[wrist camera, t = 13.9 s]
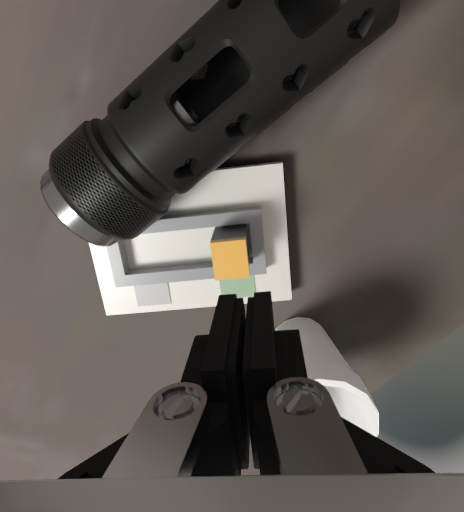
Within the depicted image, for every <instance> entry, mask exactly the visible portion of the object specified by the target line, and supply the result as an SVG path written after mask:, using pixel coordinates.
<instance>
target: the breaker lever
mask: <svg viewBox="0 0 464 512" xmlns="http://www.w3.org/2000/svg"><path fill="white" fill-rule="evenodd" d="M210 248H211V255H212V263H213V270H214V277H215V281H216V280H227V279H239V278H250V272H249V249H248V240H247V230H246V224H237V225H227V226H217V227H215V229H214V232H213V235H212V238H211V241H210Z"/></svg>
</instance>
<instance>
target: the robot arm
mask: <svg viewBox="0 0 464 512" xmlns="http://www.w3.org/2000/svg"><path fill="white" fill-rule="evenodd" d="M250 438H251V446H252V454H253V462H254V468H255V469H260V475H246V476H241V469H248V467H249V443H250ZM0 512H464V473H435V472H434V471H432V470H431V469H430V468H428V467H427V466H425V465H423V464H422V463H420V462H418V461H417V460H415V459H413V458H411V457H410V456H408V455H406V454H405V453H403V452H401V451H399V450H398V449H396V448H394V447H392V446H391V445H389V444H387V443H386V442H384V441H382V440H380V439H379V438H377V437H375V436H373V435H372V434H370V433H368V432H367V431H365V430H363V429H361V428H360V427H358V426H356V425H354V424H353V423H351V422H349V421H348V420H346V419H344V418H342V417H341V416H340V414H339V412H338V410H337V408H336V406H335V404H334V402H333V400H332V398H331V395H330V393H329V392H328V390H327V389H326V388H325V386H323V385H322V384H320V383H319V382H318V381H315V380H312V379H310V378H308V377H307V371H306V366H305V360H304V355H303V349H302V344H301V338H300V333H299V329H295V330H278V331H274V320H273V309H272V298H271V291H267V292H254V297H248V301H247V314H246V317H245V309H244V301H243V298H237V295H236V294H226V295H219V297H218V301H217V305H216V309H215V313H214V317H213V321H212V325H211V329H210V333H209V335H197V336H195V338H194V341H193V344H192V347H191V351H190V354H189V357H188V360H187V363H186V366H185V370H184V373H183V376H182V379H181V382H180V383H175V384H171V385H168V386H166V387H164V388H162V389H160V390H159V391H158V392H156V393H155V394H154V395H153V396H152V397H151V399H150V400H149V401H148V403H147V405H146V406H145V408H144V410H143V411H142V413H141V414H140V416H139V418H138V419H137V421H136V423H135V424H134V426H133V428H132V429H131V431H130V432H129V433H128V434H127V435H125V436H124V437H122V438H120V439H119V440H117V441H116V442H114V443H112V444H111V445H109V446H108V447H106V448H104V449H103V450H101V451H100V452H98V453H97V454H95V455H93V456H92V457H90V458H89V459H87V460H85V461H84V462H82V463H81V464H79V465H77V466H76V467H74V468H73V469H71V470H70V471H68V472H66V473H65V474H63V475H62V476H61V477H60V478H58V479H50V480H8V481H0Z"/></svg>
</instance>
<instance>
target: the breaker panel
mask: <svg viewBox="0 0 464 512" xmlns="http://www.w3.org/2000/svg"><path fill="white" fill-rule="evenodd" d="M237 224H246V230H247V240H248V249H249V272H250V278H239V279H227V280H216V281H215V277H214V270H213V263H212V255H211V248H210V241H211V238H212V235H213V232H214V229H215V227H217V226H227V225H237ZM89 246H90V250H91V254H92V258H93V262H94V266H95V270H96V274H97V278H98V282H99V286H100V291H101V295H102V299H103V303H104V307H105V311H106V315H118V314H130V313H142V312H154V311H165V310H177V309H189V308H201V307H213V306H216V305H217V301H218V297H219V295H226V294H236V295H237V298H243V301H244V304H247V301H248V297H254V292H267V291H271V298H272V301H284V300H292V295H291V280H290V264H289V249H288V234H287V219H286V204H285V189H284V174H283V163H282V162H281V161H279V162H270V163H261V164H252V165H243V166H234V167H225V168H217V169H215V170H214V171H212V172H211V173H209V174H208V175H206V176H205V177H204V178H203V179H202V180H200V181H199V182H198V183H197V184H196V185H195V186H194V187H193V188H192V189H190V190H189V191H188V192H187V193H183V194H177V193H176V194H175V195H173V196H172V197H171V205H170V207H169V208H168V211H167V213H166V214H165V215H164V216H162V217H161V218H160V219H159V220H157V221H156V222H155V223H154V224H152V225H151V226H150V227H149V228H147V229H146V230H145V231H144V232H143V233H141V234H140V235H139V236H137V237H136V238H133V239H127V240H119V241H118V242H116V243H115V244H113V245H111V246H106V247H103V246H97V245H94V244H91V243H89Z"/></svg>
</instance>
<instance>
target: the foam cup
mask: <svg viewBox="0 0 464 512" xmlns="http://www.w3.org/2000/svg"><path fill="white" fill-rule="evenodd" d="M295 329H299V333H300V338H301V344H302V349H303V355H304V360H305V366H306V371H307V377H308V378H310V379H312V380H315V381H318V382H319V383H320V384H322V385H323V386H325V388H326V389H327V390H328V392H329V393H330V395H331V398H332V400H333V402H334V404H335V406H336V408H337V410H338V412H339V414H340V416H341V417H342V418H344V419H346V420H348V421H349V422H351V423H353V424H354V425H356V426H358V427H360V428H361V429H363V430H365V431H367V432H368V433H370V434H372V435H373V436H375V437H377V436H378V434H379V412H378V410H377V408H376V406H375V404H374V402H373V400H372V397H371V395H370V393H369V391H368V390H367V388H366V387H365V385H364V384H363V382H362V380H361V379H360V377H359V376H358V375H357V374H355V373H354V372H353V371H352V369H351V368H350V367H349V365H348V364H347V362H346V361H345V359H344V358H343V356H342V355H341V353H340V352H339V351H338V349H337V348H336V346H335V345H334V343H333V342H332V340H331V339H330V338H329V336H328V335H327V333H326V332H325V330H324V329H323V327H322V326H321V325H320V324H319V323H317V322H315V321H314V320H312V319H310V318H303V317H295V318H292V319H289V320H285V321H284V322H283V323H282V324H281V325H279V326H278V327H277V328H276V330H275V331H278V330H295Z"/></svg>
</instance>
